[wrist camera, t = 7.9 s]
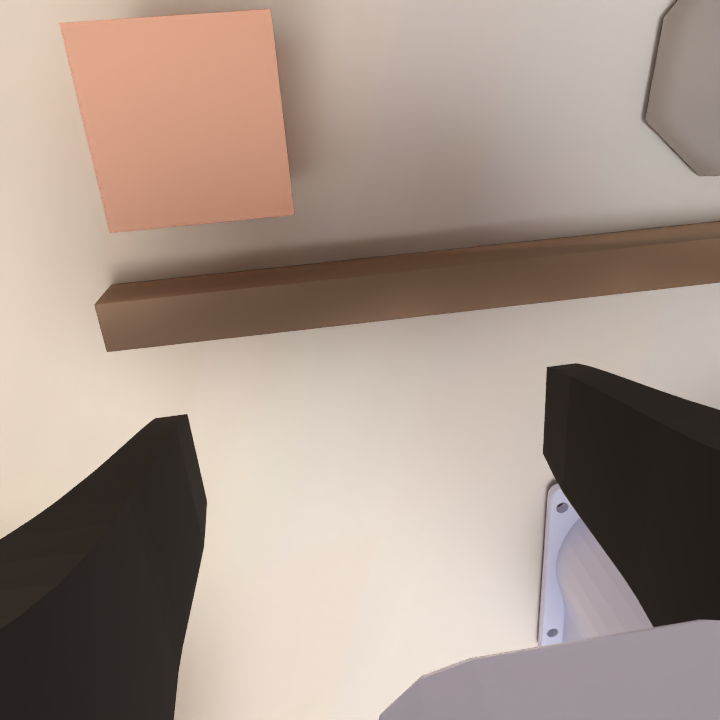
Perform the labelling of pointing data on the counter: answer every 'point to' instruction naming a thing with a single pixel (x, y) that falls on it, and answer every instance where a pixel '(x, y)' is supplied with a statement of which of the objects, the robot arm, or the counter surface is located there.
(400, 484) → the counter surface
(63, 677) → the robot arm
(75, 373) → the counter surface
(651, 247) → the strip
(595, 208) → the counter surface
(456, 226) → the counter surface
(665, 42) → the flask
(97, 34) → the block
